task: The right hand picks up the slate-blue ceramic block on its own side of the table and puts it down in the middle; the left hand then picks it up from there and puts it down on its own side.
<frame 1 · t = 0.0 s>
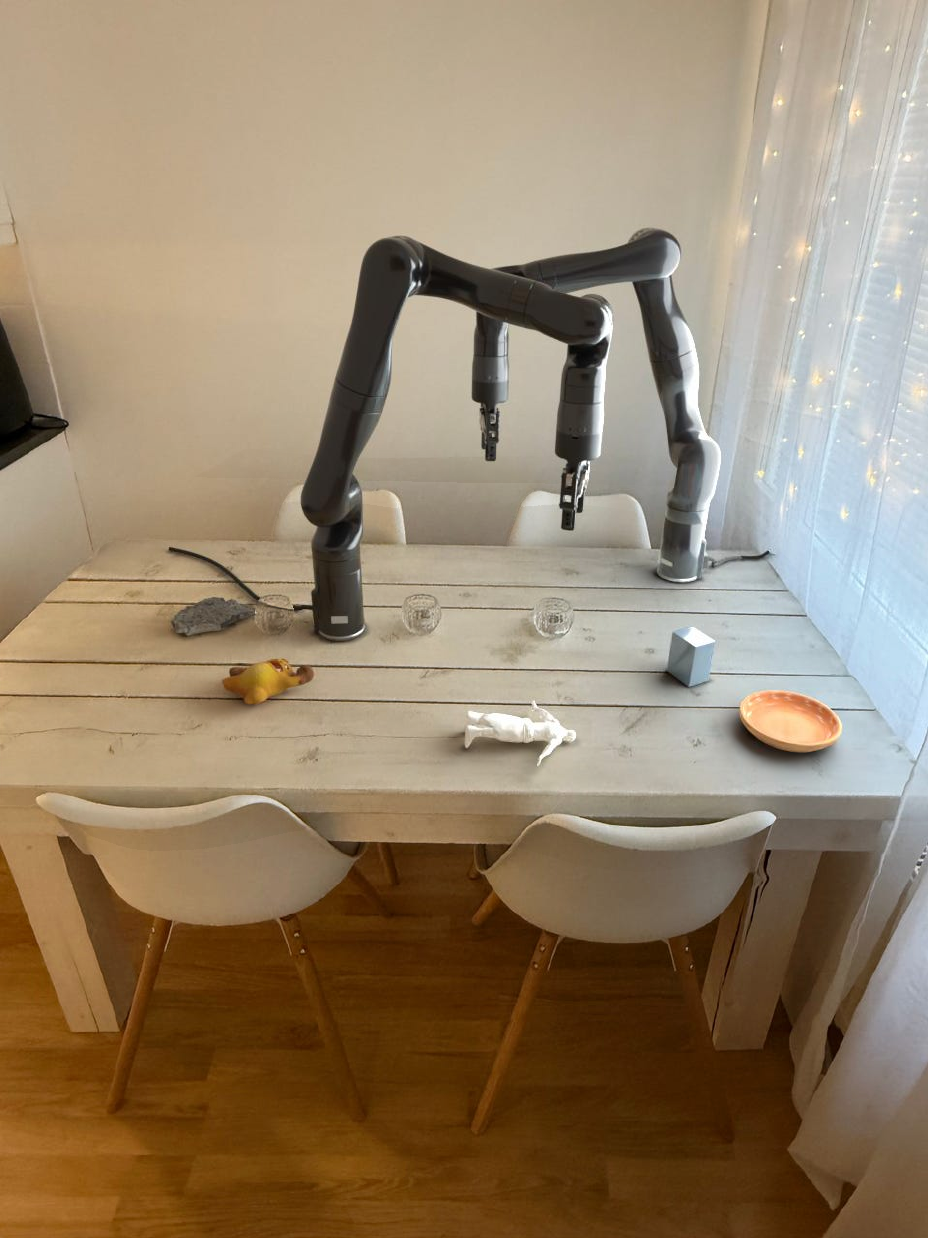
left hand: (572, 520, 140), 29 cm above the table, tool pointing down, fingers open, 8 cm apart
right hand: (488, 454, 173), 29 cm above the table, tool pointing down, fingers open, 8 cm apart
figurine: (520, 740, 133), on the table
stone slab: (211, 622, 168), on the table
block: (687, 675, 151), on the table
toy: (270, 692, 145), on the table
saucer: (786, 731, 136), on the table
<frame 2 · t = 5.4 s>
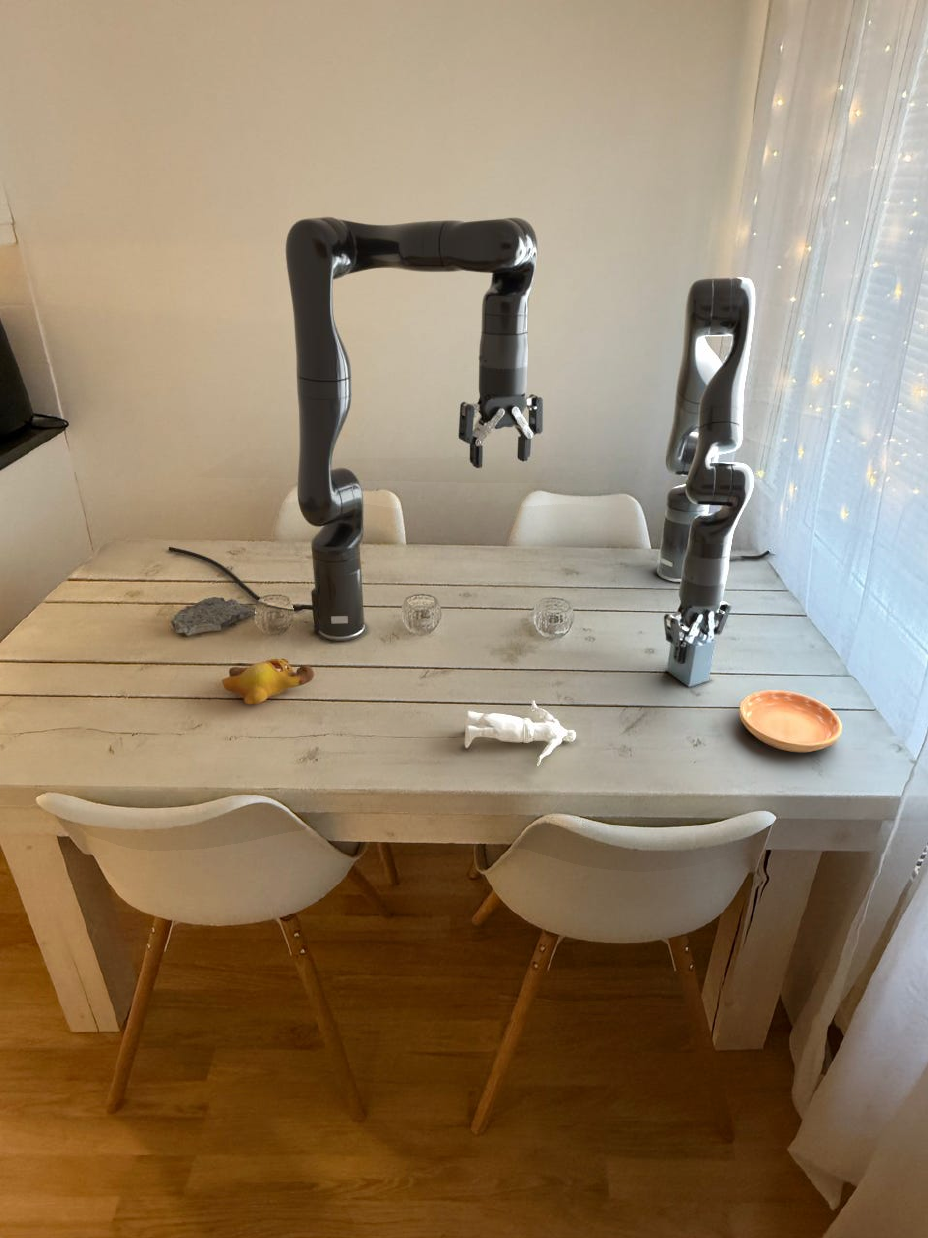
left hand: (500, 463, 134), 40 cm above the table, tool pointing down, fingers open, 8 cm apart
right hand: (690, 658, 150), 4 cm above the table, tool pointing down, fingers closed on block, 4 cm apart
block: (687, 675, 151), on the table, touching right hand
everything else where it was.
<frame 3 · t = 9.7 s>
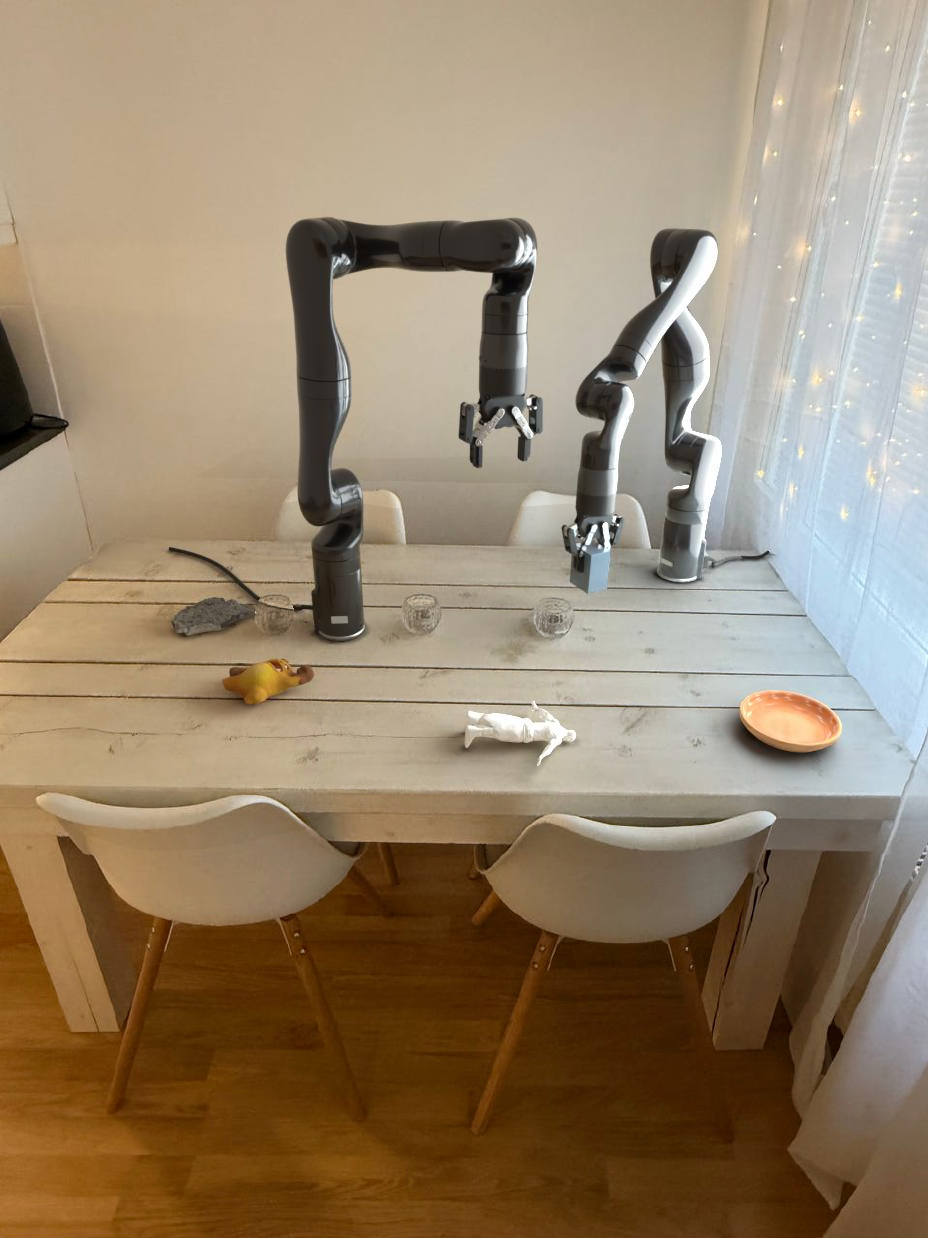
left hand: (500, 463, 134), 40 cm above the table, tool pointing down, fingers open, 8 cm apart
right hand: (589, 568, 163), 12 cm above the table, tool pointing down, fingers closed on block, 4 cm apart
block: (588, 585, 165), point 9 cm above the table, touching right hand
everything else where it was.
when the right hand's fingers open (5 cm above the table, at t = 14.2 s): block drops 2 cm, on the table.
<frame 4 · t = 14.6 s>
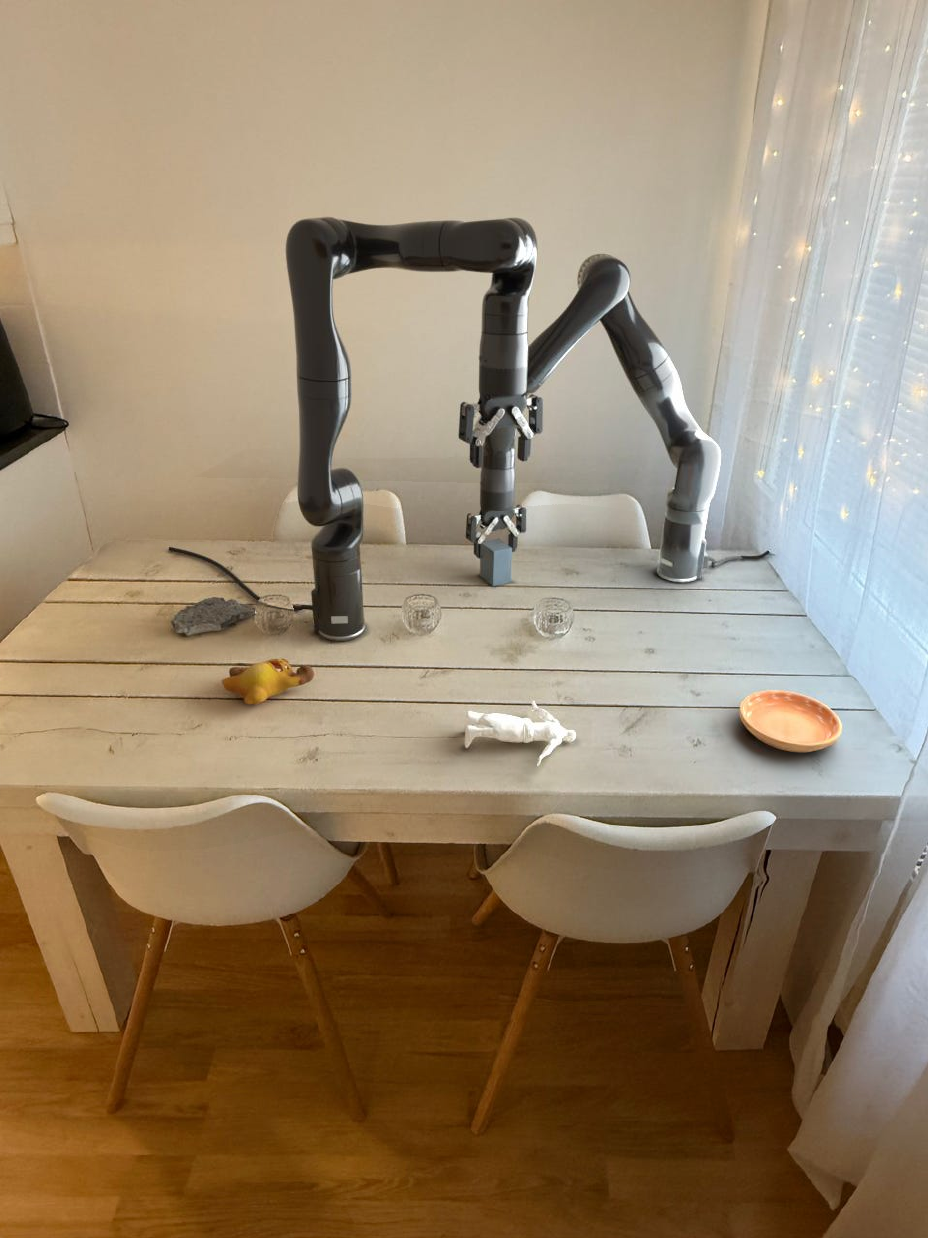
left hand: (500, 463, 134), 40 cm above the table, tool pointing down, fingers open, 8 cm apart
right hand: (495, 553, 184), 6 cm above the table, tool pointing down, fingers open, 8 cm apart
block: (495, 578, 187), on the table
everything else where it was.
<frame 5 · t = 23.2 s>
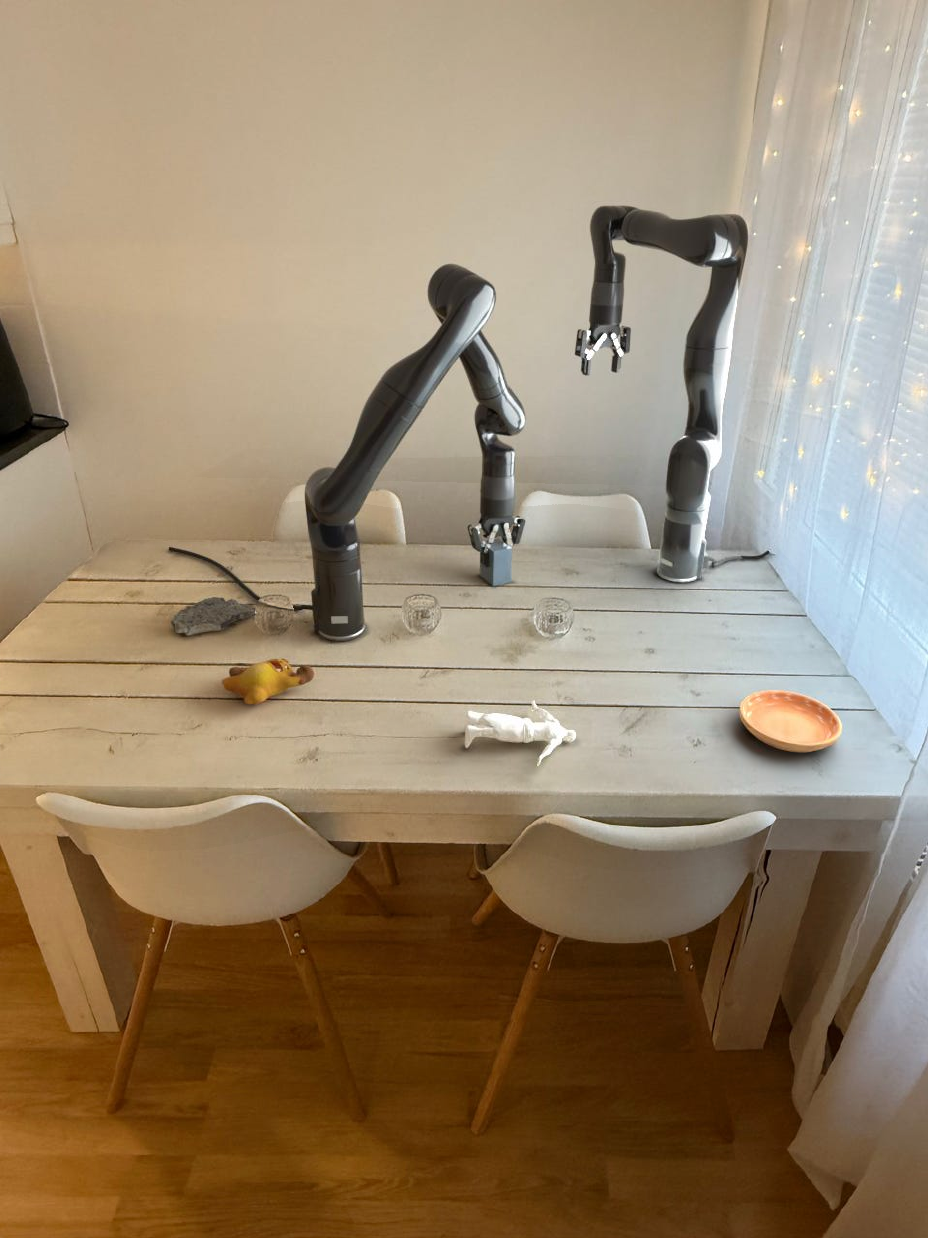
left hand: (495, 563, 186), 4 cm above the table, tool pointing down, fingers closed on block, 4 cm apart
right hand: (600, 373, 197), 40 cm above the table, tool pointing down, fingers open, 8 cm apart
block: (495, 578, 187), on the table, touching left hand
everything else where it was.
when the left hand's fingers open (5 cm above the table, at t = 31.0 s): block drops 2 cm, on the table.
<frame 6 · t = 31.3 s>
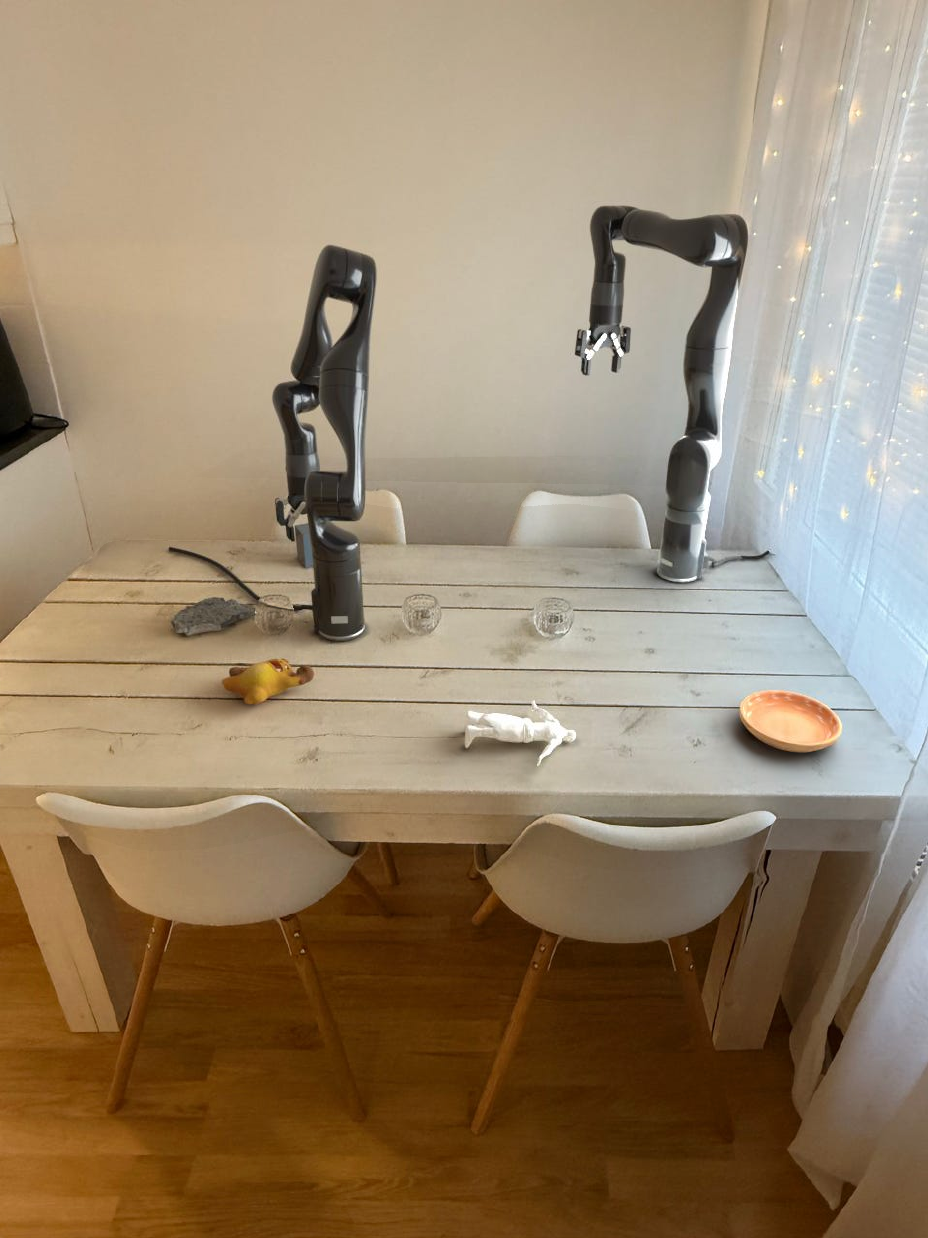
left hand: (309, 537, 192), 6 cm above the table, tool pointing down, fingers open, 7 cm apart
right hand: (600, 373, 197), 40 cm above the table, tool pointing down, fingers open, 8 cm apart
block: (311, 561, 195), on the table
everything else where it was.
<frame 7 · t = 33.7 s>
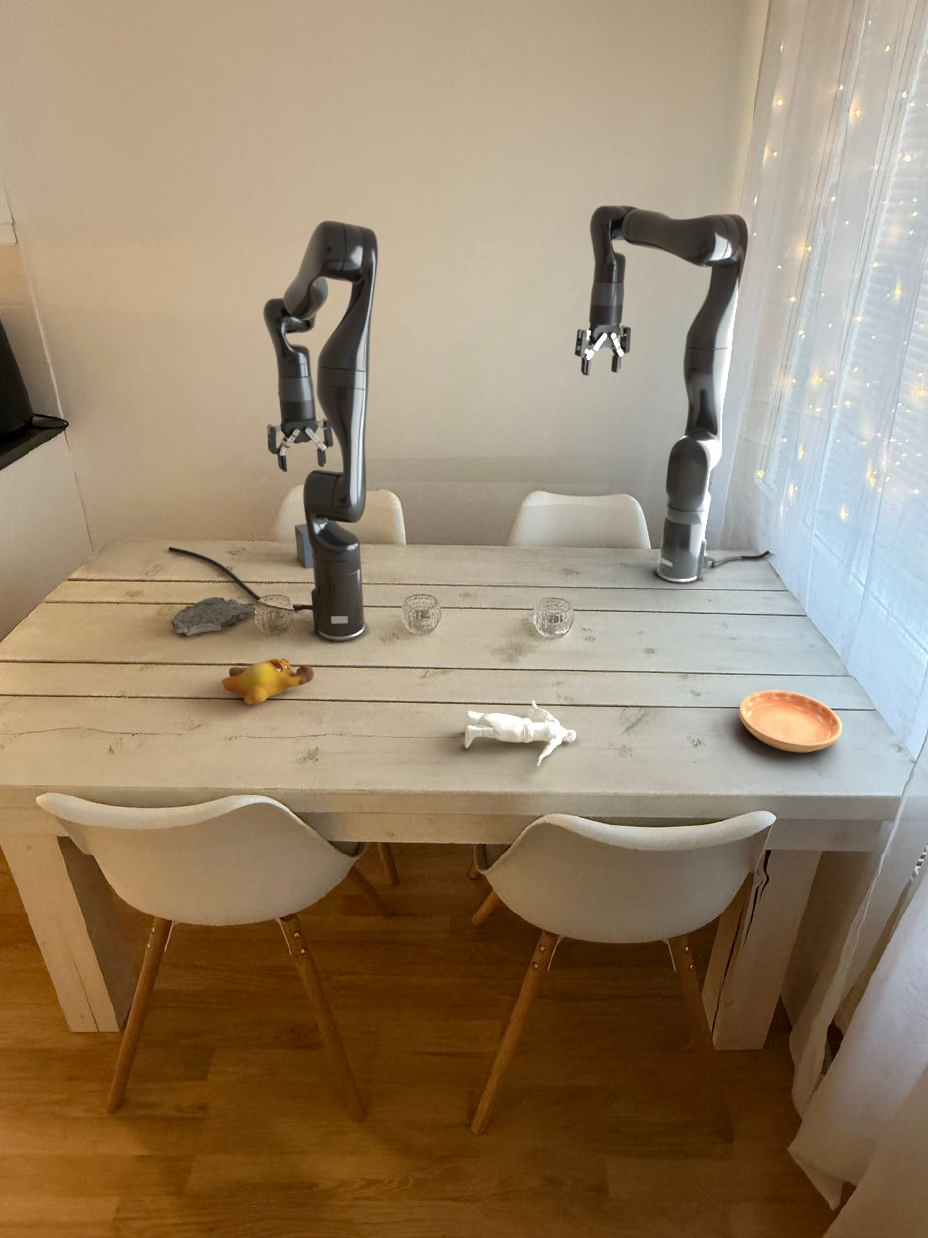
left hand: (303, 468, 184), 23 cm above the table, tool pointing down, fingers open, 8 cm apart
right hand: (600, 373, 197), 40 cm above the table, tool pointing down, fingers open, 8 cm apart
nothing on the table moved.
at the end: block inside the target area (0.1 cm from its centre), on the table; block tilted 0°; the two hands never held the block at the same time; the left hand is holding nothing; the right hand is holding nothing; block at rest at the end (0.0 cm/s) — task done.
